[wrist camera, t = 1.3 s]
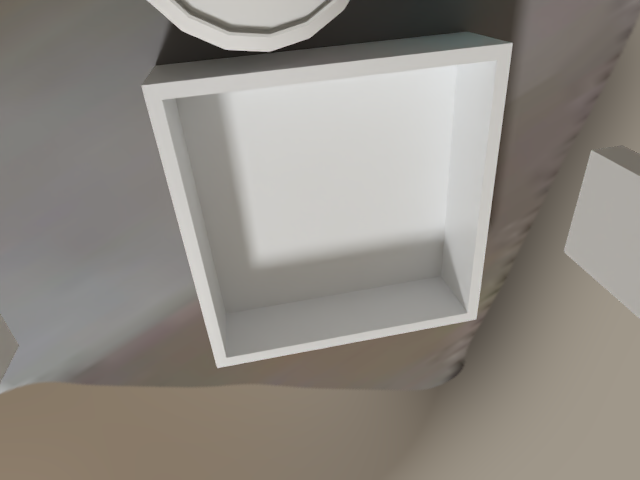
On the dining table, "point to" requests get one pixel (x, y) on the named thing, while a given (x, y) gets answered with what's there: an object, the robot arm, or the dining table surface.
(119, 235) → the dining table surface
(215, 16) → the supplement can
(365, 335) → the tote
